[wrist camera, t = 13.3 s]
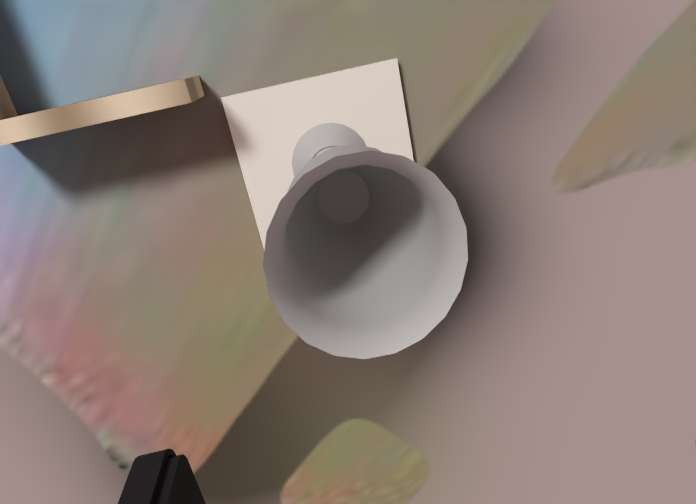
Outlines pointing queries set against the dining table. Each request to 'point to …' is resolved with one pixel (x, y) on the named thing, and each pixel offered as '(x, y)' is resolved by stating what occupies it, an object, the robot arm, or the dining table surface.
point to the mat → (312, 124)
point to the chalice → (362, 247)
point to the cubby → (93, 109)
